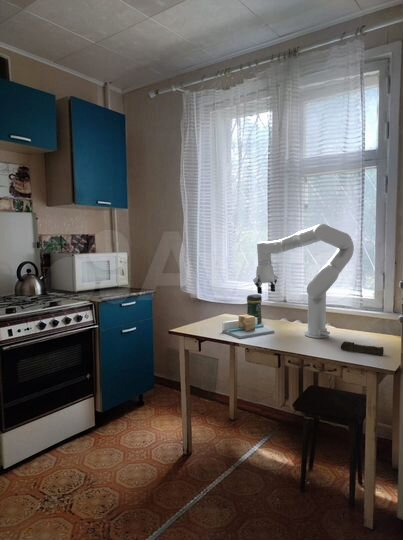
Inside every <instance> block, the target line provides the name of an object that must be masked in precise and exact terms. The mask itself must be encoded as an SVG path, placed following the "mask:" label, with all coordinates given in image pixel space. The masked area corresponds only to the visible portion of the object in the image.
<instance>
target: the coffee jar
mask: <svg viewBox="0 0 403 540" xmlns="http://www.w3.org/2000/svg"><path fill="white" fill-rule="evenodd" d="M262 298H263V297H262V295H261V294H258V293H257V294H256V293H255V294H254V293H253V294H248V295H247V296H246V303H247V309H246V310H247V312H246V314H247V315H251V316H254V317H256V318H257V325H258V324H261V323H262V322H263V321H262V318H263V316H262V300H263V299H262Z"/></svg>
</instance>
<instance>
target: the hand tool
mask: <svg viewBox="0 0 403 540" xmlns="http://www.w3.org/2000/svg"><path fill="white" fill-rule="evenodd" d="M340 350H342V351H346V352H351V353H354V352H358V353H367V354H372V355H379V356H381V357H382V356H384V353H385V351H384V347H383V346H373V345H363V344H357V343H355V342H352V341H347V340H344V341H342V343H341V345H340Z"/></svg>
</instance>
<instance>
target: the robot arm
mask: <svg viewBox="0 0 403 540" xmlns="http://www.w3.org/2000/svg"><path fill="white" fill-rule="evenodd" d="M317 242H324V243H325V244H328V245H330V246H333V247H335V248H337V249H336V251H335V253H334V254H333V255H332V256H331V258H330V259H329V260H328V261H327V262H326V263H325V264H324V265H323V266H322V267H321V268H320V270H319V271H318V272H317V274H316V275H315V276H314V277H313V278H312V280H310V281H309V283H308V284H307V286H306V293H307V295H308V296H307V330H306V331H304V336H306V337H308V338H312V339H313V338H314V339H324V338H328V337H329V335H330V334H331V332H330V331H328V328H326V325H327V324H326V322H327V321H326V318H327V316H326V308H327V301H326V300H327V292H328V291H329V289H330V288H331V287H332V286H333V285H334V284H335V283H336V281H337V280H338V278H339V275H340V274H341V272H342V271H343V270H344V268H346V266H347V264H349V262H350V260H351V259H352V257H353V255H354V252H355V248H354V247H355V246H354V243H353V242H354V241H353V239H352V236H351V235H349V234H348V233H347V232H343V231H341V230H339V229H337V228H334V227H333V226H332V227H331V226H330V225H328V224H325V223H319V224H317V225H314V226H312V227H309V228H307V229H303V230H300V231H297V232H296V233H294V234H292V235H290V236H288V237H287V236H286V237H284V238H281V239H278V240H277V239H276V240H272V241H260V242H259V241H258V242H257V244H256V249H257V266H256V272H255V278H253V279H252V281H253V283H254V286H255V287H256V290H257V291H256V292H257V294H258V295H261V294H263V289H262V288H263V287H262V285H263V284H266V283H270V284H269V285H270V292H272V293H273V292H274V293H275V292H276V284H277V281H278V276H277V275H276V274H275V273H274V268H273V265H272V263H273V260H272V255H273V254H274V255H279V254H282V253H284V252H287V251H291V250H294V249H297V248H302V247H306V246H309V245H312V244H314V243H317ZM271 254H272V255H271Z"/></svg>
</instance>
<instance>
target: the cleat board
mask: <svg viewBox="0 0 403 540" xmlns="http://www.w3.org/2000/svg"><path fill="white" fill-rule="evenodd" d="M221 324H222V327H221V330H222V333H224V334H227V335H229V336H231V337H235V338H237V339H240V340H241V339H248V338H252V337H259V336H265V335H266V336H267V335H270V334H275V330H274V329H271V328H268V327H265V325H264V324H259V325H258V324H257V318H256V317H255V330H253V331H247V332H246V331H244V328H239V319H235V320H233V319H232V320H227V321H223V322H222V323H221Z"/></svg>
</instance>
